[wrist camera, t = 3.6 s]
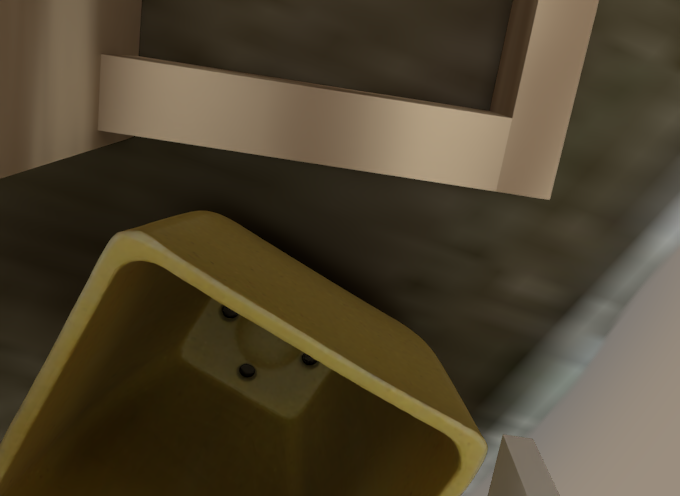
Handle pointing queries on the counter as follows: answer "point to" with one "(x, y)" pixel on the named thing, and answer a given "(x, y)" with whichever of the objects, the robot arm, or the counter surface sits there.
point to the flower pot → (233, 382)
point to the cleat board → (283, 101)
